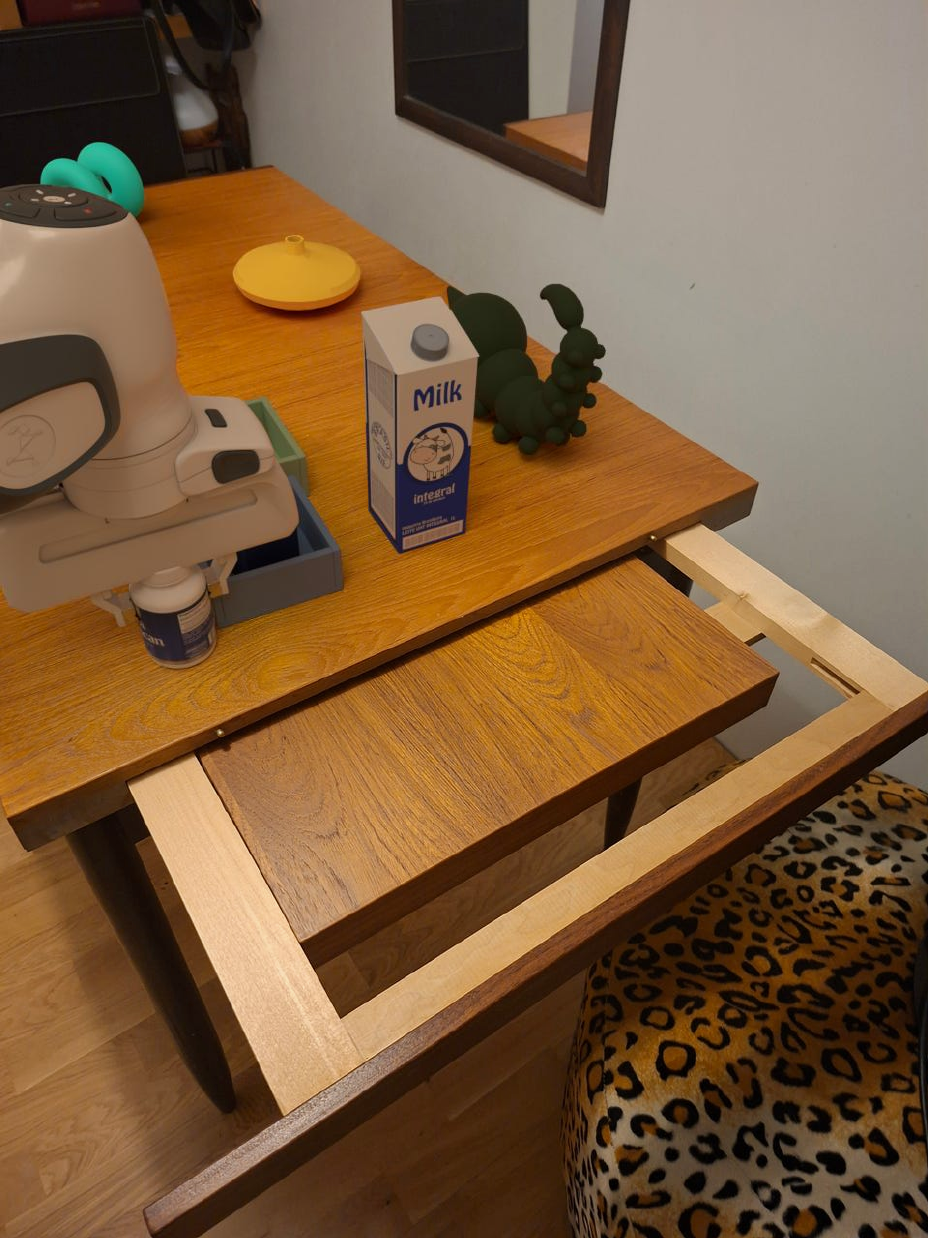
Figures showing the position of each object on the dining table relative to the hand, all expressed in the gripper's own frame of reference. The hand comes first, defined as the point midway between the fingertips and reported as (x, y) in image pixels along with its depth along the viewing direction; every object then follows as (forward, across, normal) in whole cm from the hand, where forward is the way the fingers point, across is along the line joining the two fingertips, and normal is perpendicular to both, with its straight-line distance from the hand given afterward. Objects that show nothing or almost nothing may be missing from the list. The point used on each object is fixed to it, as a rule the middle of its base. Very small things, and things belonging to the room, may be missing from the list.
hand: (173, 604), depth 65 cm
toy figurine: (+6, +39, +18) cm, 43 cm away
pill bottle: (+5, 0, 0) cm, 5 cm away
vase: (+6, +29, +52) cm, 60 cm away
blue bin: (+5, +8, +6) cm, 11 cm away
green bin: (+5, +10, +19) cm, 22 cm away
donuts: (+6, +11, +80) cm, 81 cm away
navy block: (+4, +8, +6) cm, 11 cm away
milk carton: (+5, +23, +6) cm, 25 cm away
